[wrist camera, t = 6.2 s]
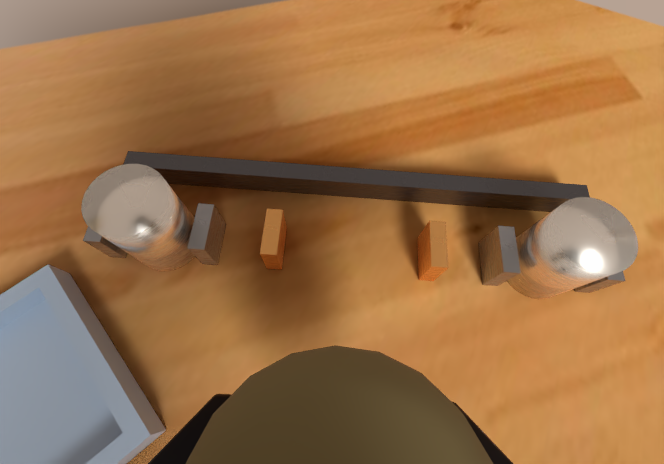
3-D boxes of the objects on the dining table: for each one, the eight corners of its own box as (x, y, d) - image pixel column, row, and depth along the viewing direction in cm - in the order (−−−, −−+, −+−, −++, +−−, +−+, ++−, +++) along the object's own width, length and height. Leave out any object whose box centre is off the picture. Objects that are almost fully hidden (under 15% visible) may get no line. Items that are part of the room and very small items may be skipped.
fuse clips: (591, 302, 23) (675, 279, 18) (107, 266, 23) (41, 231, 18) (569, 198, 26) (635, 151, 21) (140, 167, 26) (92, 110, 21)
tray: (166, 430, 20) (150, 435, 18) (-59, 621, 17) (-107, 651, 15) (69, 273, 23) (48, 264, 21) (-135, 407, 20) (-181, 410, 18)
